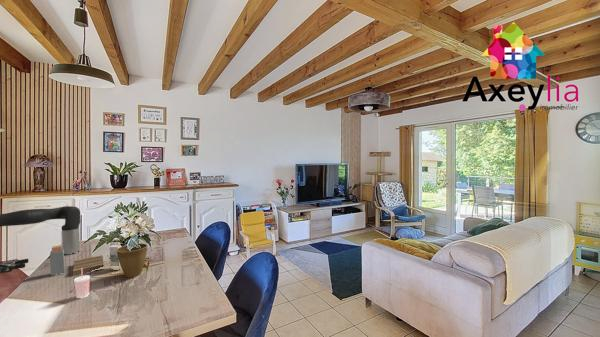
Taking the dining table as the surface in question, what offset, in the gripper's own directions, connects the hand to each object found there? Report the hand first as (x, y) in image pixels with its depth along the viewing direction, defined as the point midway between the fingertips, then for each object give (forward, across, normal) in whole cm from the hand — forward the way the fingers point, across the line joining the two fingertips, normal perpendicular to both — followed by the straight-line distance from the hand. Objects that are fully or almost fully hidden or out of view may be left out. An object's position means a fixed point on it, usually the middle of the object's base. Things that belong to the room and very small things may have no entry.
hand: (26, 262), depth 144 cm
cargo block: (+12, 0, -2) cm, 13 cm away
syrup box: (+40, -14, +9) cm, 44 cm away
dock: (+26, 0, +9) cm, 28 cm away
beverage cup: (+25, -42, +10) cm, 49 cm away
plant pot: (+47, -30, +10) cm, 56 cm away
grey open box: (+12, 0, +10) cm, 16 cm away
